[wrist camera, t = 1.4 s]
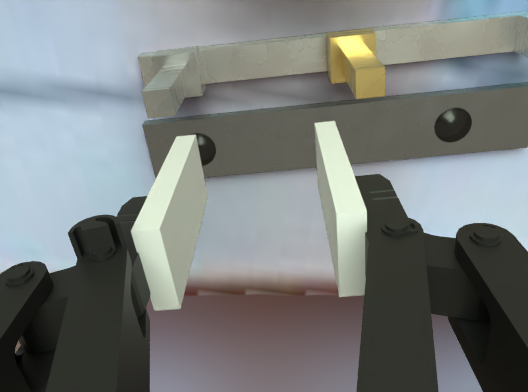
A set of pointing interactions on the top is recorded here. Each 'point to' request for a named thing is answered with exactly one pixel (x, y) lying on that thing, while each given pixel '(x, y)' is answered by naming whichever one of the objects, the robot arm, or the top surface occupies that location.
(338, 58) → the slider
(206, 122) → the hole plate
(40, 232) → the top surface
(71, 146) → the top surface
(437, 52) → the rail
